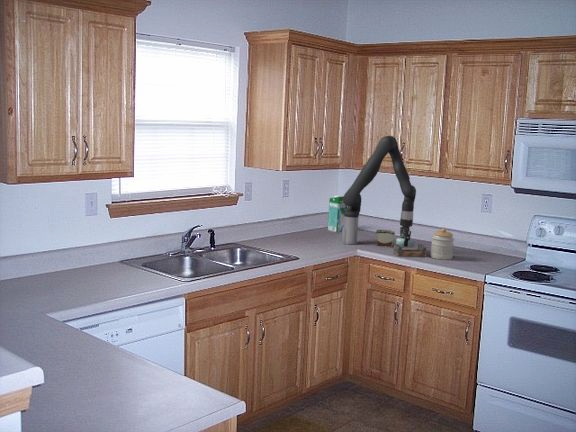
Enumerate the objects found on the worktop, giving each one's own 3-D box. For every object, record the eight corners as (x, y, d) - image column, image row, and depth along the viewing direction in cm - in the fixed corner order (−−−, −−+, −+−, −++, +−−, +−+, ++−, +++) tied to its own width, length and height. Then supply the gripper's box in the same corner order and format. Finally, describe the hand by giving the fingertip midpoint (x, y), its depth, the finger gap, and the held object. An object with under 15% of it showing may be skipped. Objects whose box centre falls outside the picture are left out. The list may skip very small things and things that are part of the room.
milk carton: (336, 229, 473) (338, 194, 469) (345, 231, 466) (348, 196, 462) (327, 230, 467) (329, 194, 463) (336, 232, 460) (338, 196, 456)
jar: (449, 261, 386) (451, 231, 384) (427, 257, 393) (429, 228, 390) (455, 257, 398) (457, 228, 395) (433, 254, 404) (436, 225, 401)
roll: (398, 243, 402) (397, 236, 405) (396, 248, 406) (395, 241, 409) (414, 243, 404) (413, 237, 407) (412, 248, 408) (410, 242, 411)
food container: (393, 245, 424) (394, 230, 422) (394, 247, 418) (395, 231, 416) (374, 244, 425) (375, 228, 424) (374, 246, 419) (375, 230, 417)
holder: (397, 256, 392) (398, 247, 391) (393, 253, 400) (394, 244, 400) (425, 257, 394) (426, 247, 393) (420, 253, 403) (421, 244, 402)
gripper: (397, 215, 410) (394, 242, 413) (404, 220, 396) (401, 247, 399) (408, 216, 412) (406, 243, 414) (416, 220, 398) (413, 248, 400)
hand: (404, 245), depth 407 cm, fingers closed on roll, 5 cm apart
